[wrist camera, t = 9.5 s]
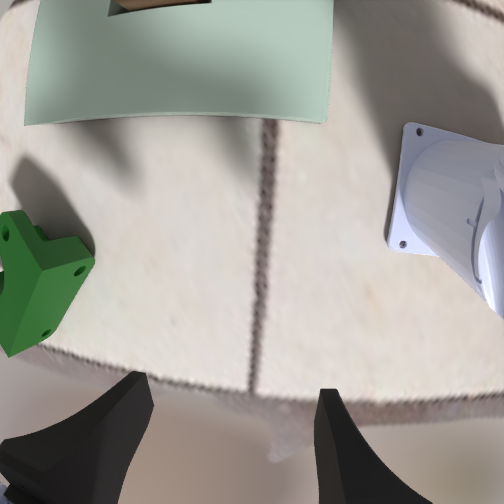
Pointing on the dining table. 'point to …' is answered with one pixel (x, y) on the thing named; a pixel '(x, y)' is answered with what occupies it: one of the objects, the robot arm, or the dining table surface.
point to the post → (155, 3)
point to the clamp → (36, 280)
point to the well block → (180, 60)
